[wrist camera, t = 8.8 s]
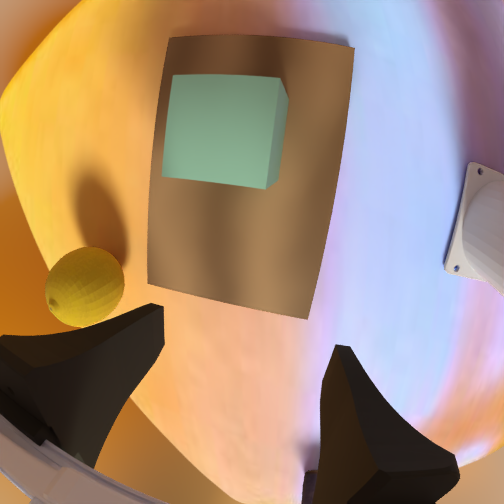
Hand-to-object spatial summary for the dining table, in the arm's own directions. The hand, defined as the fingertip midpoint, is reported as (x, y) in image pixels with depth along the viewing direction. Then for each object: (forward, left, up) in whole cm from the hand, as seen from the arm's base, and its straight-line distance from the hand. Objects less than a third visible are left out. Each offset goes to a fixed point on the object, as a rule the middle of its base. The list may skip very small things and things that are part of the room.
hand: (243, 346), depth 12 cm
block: (+3, -8, -8) cm, 12 cm away
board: (+3, -6, -9) cm, 12 cm away
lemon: (+13, +3, -10) cm, 16 cm away
